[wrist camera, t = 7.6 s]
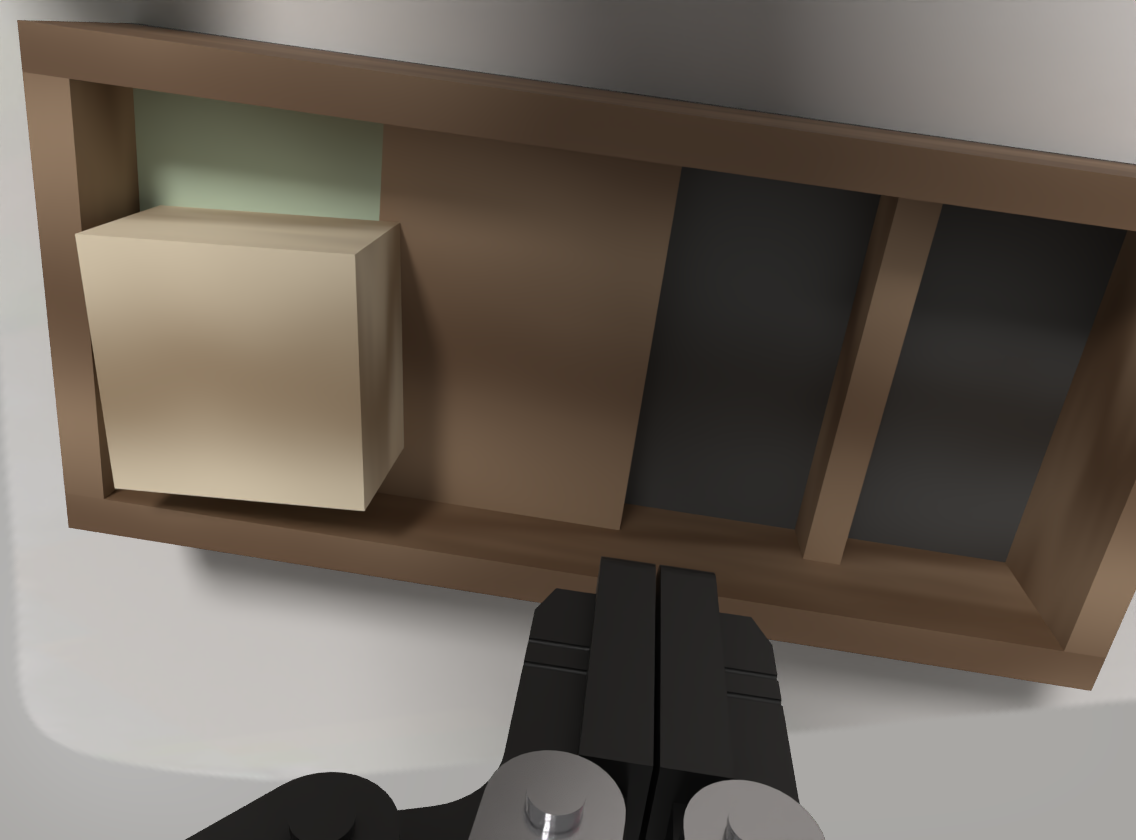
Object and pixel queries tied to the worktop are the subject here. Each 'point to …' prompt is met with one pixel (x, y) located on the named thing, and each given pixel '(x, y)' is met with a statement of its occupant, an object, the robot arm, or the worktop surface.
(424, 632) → the worktop surface
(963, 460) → the divided wooden tray
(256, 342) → the block
